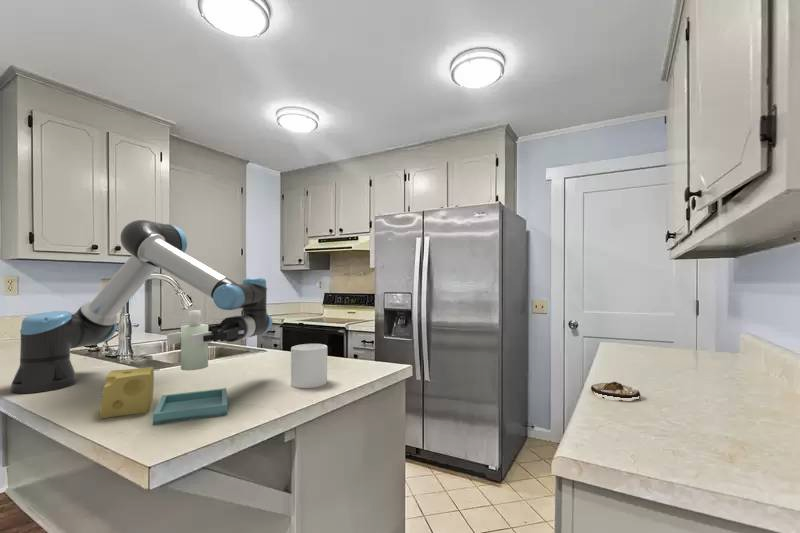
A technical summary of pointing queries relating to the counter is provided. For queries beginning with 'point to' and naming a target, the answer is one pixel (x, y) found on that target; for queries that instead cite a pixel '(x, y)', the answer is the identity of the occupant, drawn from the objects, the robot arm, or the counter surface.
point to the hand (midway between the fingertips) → (180, 340)
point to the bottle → (193, 354)
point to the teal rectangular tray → (190, 406)
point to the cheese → (127, 392)
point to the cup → (308, 365)
